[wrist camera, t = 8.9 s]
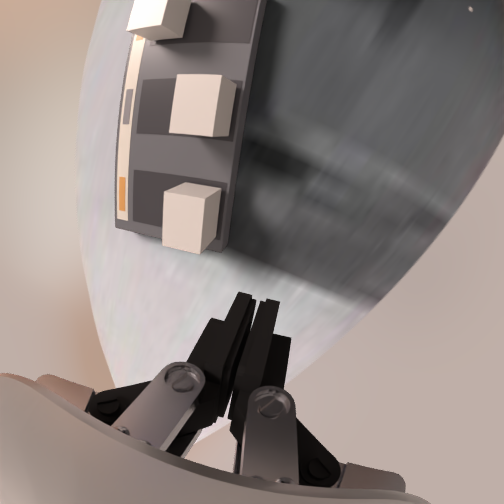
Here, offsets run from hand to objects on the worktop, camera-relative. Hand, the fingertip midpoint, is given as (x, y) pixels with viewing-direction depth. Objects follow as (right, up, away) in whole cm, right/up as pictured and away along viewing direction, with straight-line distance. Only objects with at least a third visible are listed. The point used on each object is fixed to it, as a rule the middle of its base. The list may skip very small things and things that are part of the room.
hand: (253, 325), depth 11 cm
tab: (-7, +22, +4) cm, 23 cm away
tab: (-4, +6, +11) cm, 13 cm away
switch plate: (-6, +15, +10) cm, 19 cm away
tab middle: (-3, +13, +7) cm, 15 cm away
